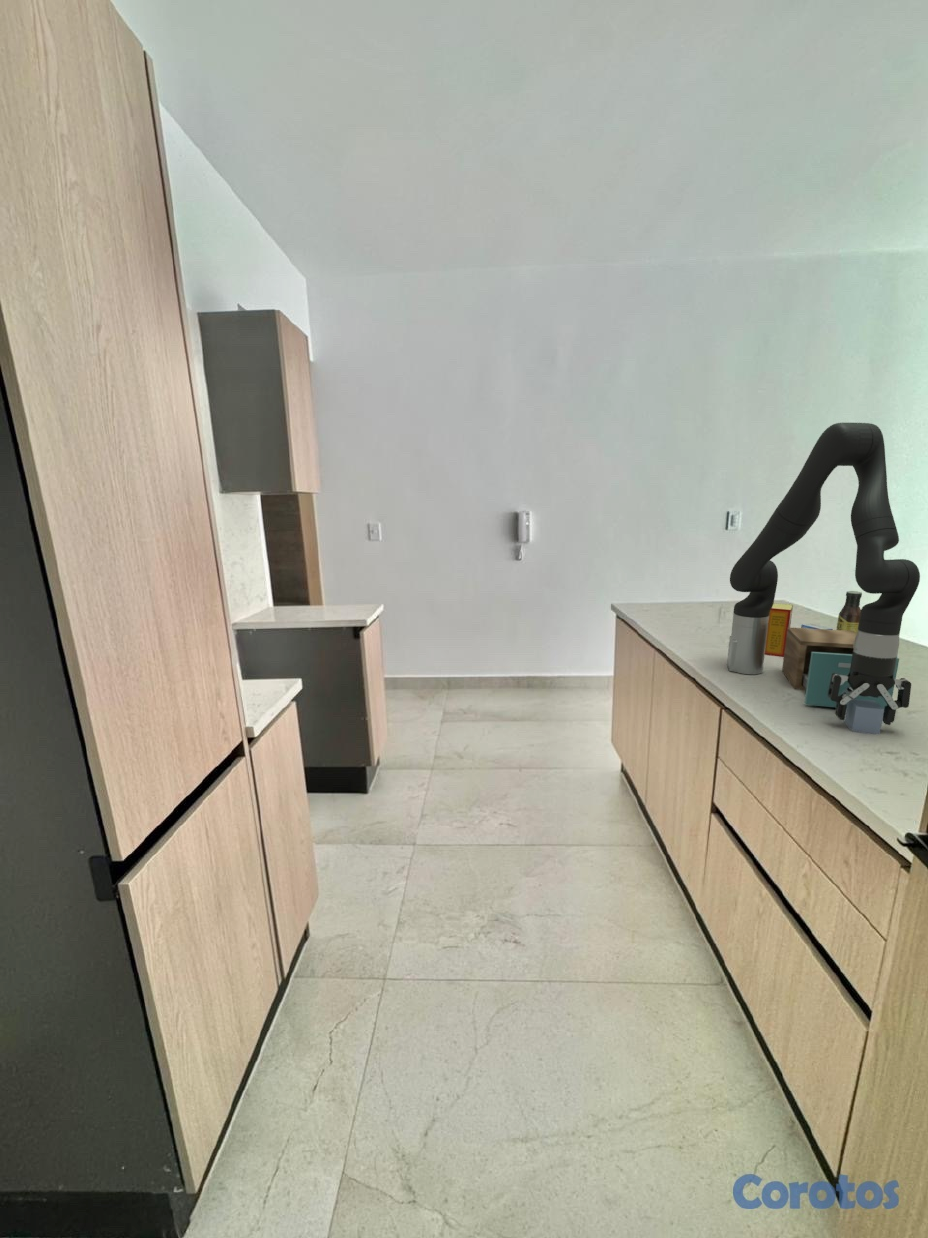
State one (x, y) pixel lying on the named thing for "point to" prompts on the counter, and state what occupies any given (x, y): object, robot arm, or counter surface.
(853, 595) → the sauce bottle
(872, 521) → the robot arm
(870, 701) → the slate-blue block
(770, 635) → the baking soda box
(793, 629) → the cabinet
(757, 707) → the counter surface
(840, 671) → the drawer
